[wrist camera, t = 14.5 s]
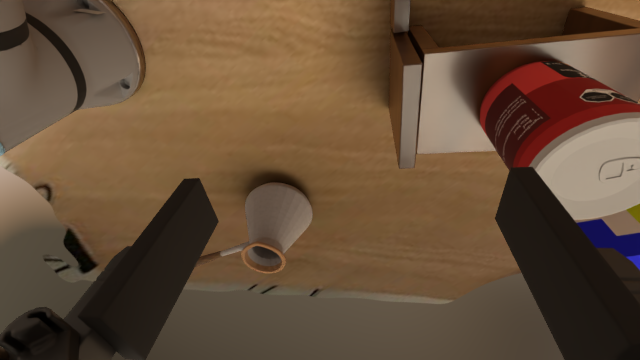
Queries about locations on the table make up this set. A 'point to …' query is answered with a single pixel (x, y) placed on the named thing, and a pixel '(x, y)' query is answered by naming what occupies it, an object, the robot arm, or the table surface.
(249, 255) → the coffee pot
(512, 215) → the robot arm
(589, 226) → the puzzle toy
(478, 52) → the step shelf
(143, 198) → the table surface
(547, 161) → the canned food
